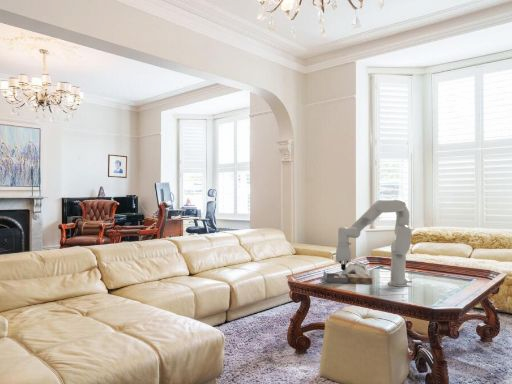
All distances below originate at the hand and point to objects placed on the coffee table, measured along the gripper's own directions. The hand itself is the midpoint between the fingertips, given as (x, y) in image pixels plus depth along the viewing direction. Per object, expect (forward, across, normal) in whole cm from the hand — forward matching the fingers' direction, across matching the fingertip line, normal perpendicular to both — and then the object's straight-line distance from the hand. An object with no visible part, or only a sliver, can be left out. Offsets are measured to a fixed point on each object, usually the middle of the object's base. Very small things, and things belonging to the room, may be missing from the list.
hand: (343, 270), depth 272 cm
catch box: (+8, +6, 0) cm, 9 cm away
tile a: (+4, 0, 0) cm, 4 cm away
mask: (+9, -16, -30) cm, 35 cm away
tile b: (+5, +4, 0) cm, 6 cm away
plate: (+8, -11, 0) cm, 14 cm away
